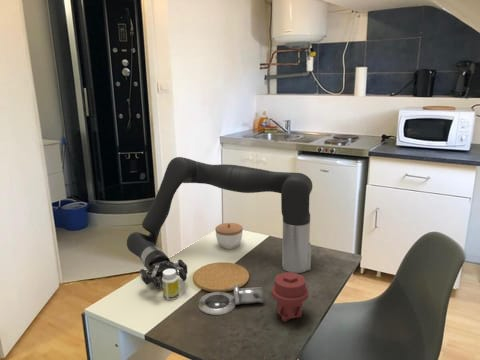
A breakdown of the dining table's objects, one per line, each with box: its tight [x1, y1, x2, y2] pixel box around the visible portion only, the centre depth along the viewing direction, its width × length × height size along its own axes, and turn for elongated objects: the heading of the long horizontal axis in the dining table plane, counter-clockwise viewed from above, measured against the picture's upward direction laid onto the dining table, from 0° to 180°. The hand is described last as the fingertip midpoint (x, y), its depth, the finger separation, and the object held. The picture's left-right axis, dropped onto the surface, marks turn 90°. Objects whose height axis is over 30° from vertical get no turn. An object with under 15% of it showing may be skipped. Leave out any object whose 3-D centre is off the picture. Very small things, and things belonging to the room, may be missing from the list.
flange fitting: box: [198, 284, 264, 316], centre depth 114 cm, size 19×11×6 cm, turn 95°
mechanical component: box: [271, 271, 309, 322], centre depth 107 cm, size 12×10×10 cm
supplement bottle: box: [161, 269, 180, 301], centre depth 118 cm, size 5×5×8 cm
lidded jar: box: [214, 222, 243, 250], centre depth 153 cm, size 11×11×9 cm
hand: (172, 281), depth 116 cm, fingers open, 7 cm apart
